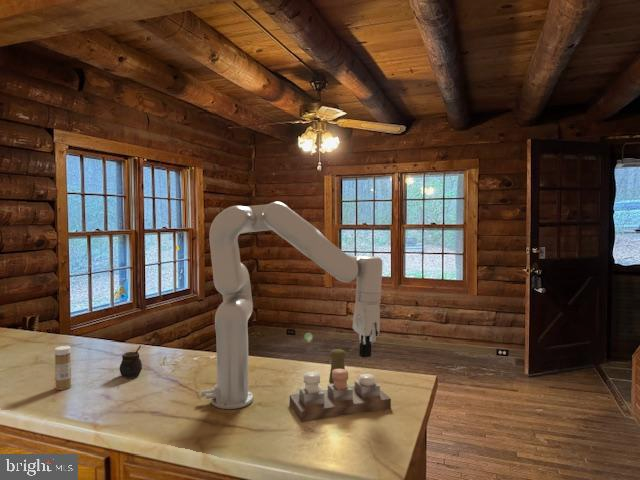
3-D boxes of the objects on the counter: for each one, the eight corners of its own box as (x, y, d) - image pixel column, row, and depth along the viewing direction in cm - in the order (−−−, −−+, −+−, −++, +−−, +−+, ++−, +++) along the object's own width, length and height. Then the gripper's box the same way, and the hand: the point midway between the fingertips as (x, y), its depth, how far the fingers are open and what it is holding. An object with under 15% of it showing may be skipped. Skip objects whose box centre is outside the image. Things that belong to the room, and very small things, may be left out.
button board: (301, 422, 119) (301, 401, 118) (289, 404, 130) (289, 385, 130) (390, 408, 128) (391, 388, 128) (372, 392, 139) (372, 374, 139)
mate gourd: (114, 377, 150) (114, 349, 149) (131, 370, 157) (131, 343, 156) (130, 381, 147) (130, 352, 146) (146, 373, 154) (146, 346, 153)
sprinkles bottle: (72, 384, 143) (71, 344, 143) (69, 389, 139) (69, 348, 138) (56, 386, 142) (56, 346, 141) (53, 391, 137) (52, 350, 137)
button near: (306, 395, 123) (306, 378, 122) (301, 389, 127) (301, 373, 127) (322, 393, 124) (322, 376, 124) (316, 387, 129) (316, 371, 129)
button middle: (335, 391, 126) (335, 375, 125) (329, 385, 130) (329, 369, 130) (350, 389, 127) (350, 373, 127) (344, 383, 132) (344, 368, 132)
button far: (363, 396, 129) (363, 380, 129) (356, 390, 133) (356, 374, 133) (377, 394, 131) (377, 378, 130) (370, 388, 135) (370, 373, 135)
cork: (345, 385, 146) (345, 353, 145) (327, 383, 147) (327, 351, 146) (347, 378, 152) (347, 347, 151) (330, 377, 153) (331, 346, 152)
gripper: (347, 292, 136) (344, 349, 137) (367, 302, 122) (364, 365, 123) (368, 292, 139) (365, 348, 140) (391, 301, 125) (387, 363, 126)
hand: (365, 356), depth 131 cm, fingers closed
